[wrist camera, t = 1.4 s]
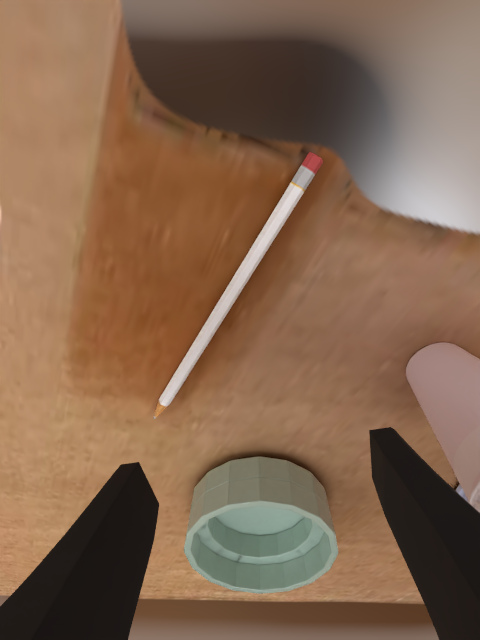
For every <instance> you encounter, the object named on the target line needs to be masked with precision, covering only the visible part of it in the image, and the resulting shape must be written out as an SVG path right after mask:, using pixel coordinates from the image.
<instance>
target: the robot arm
mask: <svg viewBox="0 0 480 640" xmlns="http://www.w3.org/2000/svg"><path fill="white" fill-rule="evenodd" d="M369 431H370V448H371V465H372V479H373V482H374V485H375V488H376V491H377V494H378V497H379V500H380V503H381V505H382V508H383V511H384V514H385V517H386V519H387V521H388V523H389V526H390V528H391V530H392V532H393V535H394V537H395V539H396V541H397V544H398V546H399V548H400V550H401V552H402V555H403V557H404V559H405V561H406V563H407V566H408V568H409V570H410V572H411V575H412V577H413V579H414V581H415V583H416V586H417V588H418V590H419V592H420V594H421V597H422V599H423V601H424V603H425V606H426V607H427V610H428V613H429V615H430V617H431V619H432V622H433V625H434V627H435V629H436V632H437V635H438V637H439V640H480V513H479V512H478V511H477V510H476V509H475V508H474V507H473V506H472V505H470V504H469V503H468V501H469V500H468V499H467V497H466V495H465V493H464V491H463V489H462V487H461V485H460V484H459V486H458V487H457V489H456V490H454V489H453V488H452V487H451V486H450V485H449V484H448V483H447V482H445V481H444V480H443V479H442V478H441V477H440V476H439V475H438V474H437V473H436V472H435V471H434V470H433V469H432V468H431V467H430V466H429V465H428V464H427V463H426V462H425V461H424V460H423V459H422V458H421V457H420V456H419V455H418V454H417V453H416V452H415V451H414V450H413V449H412V448H411V447H410V446H409V445H408V444H407V443H406V442H405V441H404V439H403V438H402V437H401V436H400V435H399V434H398V433H397V432H396V431H395V430H394V429H393V428H391V427H389V428H382V429H375V430H369ZM158 509H159V503H158V501H157V499H156V497H155V494H154V492H153V490H152V488H151V486H150V484H149V482H148V480H147V478H146V476H145V474H144V472H143V470H142V468H141V466H140V464H139V462H137V463H129V464H122V465H120V467H119V468H118V469H117V470H116V471H115V473H114V474H113V475H112V476H111V478H110V479H109V480H108V481H107V483H106V484H105V485H104V486H103V488H102V489H101V490H100V491H99V493H98V494H97V495H96V497H95V498H94V499H93V500H92V502H91V503H90V504H89V505H88V507H87V508H86V509H85V510H84V512H83V513H82V514H81V515H80V517H79V518H78V519H77V520H76V522H75V523H74V524H73V525H72V526H71V528H70V529H69V530H68V531H67V533H66V534H65V535H64V536H63V537H62V539H61V540H60V541H59V542H58V543H57V544H56V545H55V547H54V548H53V549H52V550H51V551H50V552H49V554H48V555H47V556H46V557H45V558H44V559H43V561H42V562H41V563H40V564H39V565H38V566H37V568H36V569H35V570H34V571H33V572H32V573H31V574H30V575H29V577H28V578H27V579H26V580H25V581H24V582H23V583H22V584H21V585H20V586H19V587H18V589H17V590H16V591H15V592H14V593H13V594H12V595H11V596H10V597H9V598H8V599H7V600H6V601H5V602H4V603H3V604H2V605H1V606H0V640H128V636H129V632H130V628H131V624H132V621H133V617H134V613H135V610H136V606H137V602H138V598H139V595H140V591H141V587H142V583H143V580H144V576H145V572H146V568H147V565H148V561H149V557H150V553H151V549H152V545H153V541H154V536H155V529H156V523H157V516H158Z"/></svg>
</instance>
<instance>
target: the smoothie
mask: <svg viewBox="0 0 480 640" xmlns="http://www.w3.org/2000/svg"><path fill="white" fill-rule="evenodd" d="M406 378H407V380H408V382H409V384H410V386H411V388H412V390H413V392H414V394H415V396H416V398H417V400H418V402H419V404H420V406H421V408H422V410H423V412H424V414H425V416H426V418H427V420H428V422H429V424H430V426H431V428H432V430H433V432H434V434H435V436H436V438H437V440H438V442H439V444H440V446H441V447H442V449H443V451H444V453H445V455H446V457H447V459H448V461H449V463H450V465H451V467H452V469H453V471H454V473H455V476H456V478H457V480H458V482H459V483H460V485H461V487H462V489H463V491H464V493H465V495H466V497H467V499H468V500H469V501H468V503H469V504H470V505H472V506H473V507H474V508H475V509H476V510H477V511H478V512H479V513H480V359H478V358H477V357H475V356H473V355H472V354H470V353H469V352H467V351H465V350H464V349H462V348H460V347H459V346H457V345H455V344H452V343H445V342H442V343H435V344H431V345H428V346H426V347H424V348H422V349H421V350H419V351H418V352H417V353H415V354H414V355H413V356H412V358H411V359H410V361H409V362H408V364H407V367H406Z"/></svg>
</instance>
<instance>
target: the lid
mask: <svg viewBox="0 0 480 640" xmlns="http://www.w3.org/2000/svg"><path fill="white" fill-rule="evenodd" d="M184 552H185V554H186V557H187V559H188V561H189V563H190V565H191V567H192V568H193V569H194V570H195V571H197V572H198V573H199V574H201V575H202V576H203V577H204V578H206V579H207V580H208V581H210V582H212V583H215V584H218V585H220V586H223V587H226V588H228V589H231V590H234V591H242V592H250V593H259V594H260V593H261V594H263V593H274V592H285V591H290V590H293V589H296V588H299V587H302V586H305V585H307V584H310V583H312V582H314V581H315V580H317V579H318V578H319V577H321V576H322V575H323V574H325V573H326V572H327V571H329V570H330V568H331V566H332V564H333V562H334V560H335V558H336V557H337V555H338V547H337V540H336V534H335V530H334V526H333V521H332V517H331V513H330V509H329V505H328V500H327V496H326V492H325V489H324V487H323V486H322V485H321V483H320V482H319V481H318V480H317V479H316V478H315V476H314V475H313V474H312V473H311V472H310V471H308V470H306V469H304V468H302V467H300V466H298V465H296V464H294V463H292V462H290V461H287V460H281V459H275V458H268V457H261V456H257V457H250V458H243V459H236V460H231V461H229V462H227V463H224V464H222V465H220V466H218V467H216V468H214V469H212V470H210V471H209V472H207V473H206V475H205V476H204V477H203V478H202V479H201V481H200V482H199V483H198V484H197V485H196V486H195V488H194V493H193V498H192V504H191V510H190V516H189V522H188V528H187V534H186V540H185V546H184Z"/></svg>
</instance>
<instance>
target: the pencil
mask: <svg viewBox="0 0 480 640" xmlns="http://www.w3.org/2000/svg"><path fill="white" fill-rule="evenodd" d="M322 163H323V160H322V159H321V158H320V157H318V156H317V155H316V154H314V153H312V152H309V153H308V155H307V157H306V158H305V160H304V162H303V163H302V165H301V166H300V168H299V170H298V171H297V173H296V175H295V176H294V178H293V180H292V181H291V183H290V185H289V186H288V188H287V189H286V191H285V193H284V194H283V196H282V198H281V199H280V201H279V203H278V204H277V206H276V208H275V209H274V211H273V213H272V214H271V216H270V217H269V219H268V221H267V222H266V224H265V226H264V227H263V229H262V231H261V232H260V234H259V236H258V237H257V239H256V240H255V242H254V244H253V245H252V247H251V249H250V250H249V252H248V254H247V255H246V257H245V259H244V260H243V262H242V264H241V265H240V267H239V268H238V270H237V272H236V273H235V275H234V277H233V278H232V280H231V282H230V283H229V285H228V287H227V288H226V290H225V291H224V293H223V295H222V296H221V298H220V300H219V301H218V303H217V305H216V306H215V308H214V310H213V311H212V313H211V315H210V316H209V318H208V319H207V321H206V323H205V324H204V326H203V328H202V329H201V331H200V333H199V334H198V336H197V338H196V339H195V341H194V342H193V344H192V346H191V347H190V349H189V351H188V352H187V354H186V356H185V357H184V359H183V361H182V362H181V364H180V365H179V367H178V369H177V370H176V372H175V374H174V375H173V377H172V379H171V380H170V382H169V384H168V385H167V387H166V389H165V390H164V392H163V393H162V395H161V397H160V398H159V400H158V404H157V407H156V411H155V414H154V419H155V418H156V417H157V416H158V415H159V414H160V413H161V412H163V411H164V410H165V409H166V408H167V407H168V406H169V405H170V403H171V402H172V400H173V399H174V397H175V395H176V394H177V392H178V391H179V389H180V388H181V386H182V384H183V383H184V381H185V380H186V378H187V376H188V375H189V373H190V372H191V370H192V369H193V367H194V365H195V364H196V362H197V361H198V359H199V357H200V356H201V354H202V353H203V351H204V350H205V348H206V346H207V345H208V343H209V342H210V340H211V339H212V337H213V335H214V334H215V332H216V331H217V329H218V327H219V326H220V324H221V323H222V321H223V320H224V318H225V316H226V315H227V313H228V312H229V310H230V308H231V307H232V305H233V304H234V302H235V301H236V299H237V297H238V296H239V294H240V293H241V291H242V289H243V288H244V286H245V285H246V283H247V282H248V280H249V278H250V277H251V275H252V274H253V272H254V271H255V269H256V267H257V266H258V264H259V263H260V261H261V259H262V258H263V256H264V255H265V253H266V252H267V250H268V248H269V247H270V245H271V244H272V242H273V240H274V239H275V237H276V236H277V234H278V233H279V231H280V229H281V228H282V226H283V225H284V223H285V222H286V220H287V218H288V217H289V215H290V214H291V212H292V210H293V209H294V207H295V206H296V204H297V203H298V201H299V199H300V198H301V196H302V195H303V193H304V191H305V190H306V188H307V187H308V185H309V184H310V182H311V180H312V179H313V177H314V176H315V174H316V173H317V171H318V169H319V168H320V166H321V165H322Z"/></svg>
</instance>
